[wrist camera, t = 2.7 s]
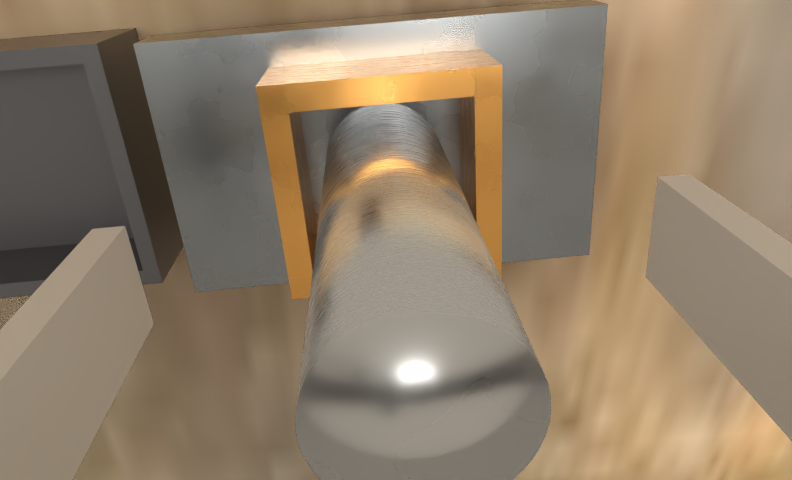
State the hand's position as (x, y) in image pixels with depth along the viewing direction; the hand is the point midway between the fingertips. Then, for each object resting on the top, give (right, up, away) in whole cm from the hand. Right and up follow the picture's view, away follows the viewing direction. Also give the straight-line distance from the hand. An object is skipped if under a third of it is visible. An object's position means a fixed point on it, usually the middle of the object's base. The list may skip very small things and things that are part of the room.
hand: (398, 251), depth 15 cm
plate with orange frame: (-1, +5, +11) cm, 12 cm away
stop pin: (0, +3, +6) cm, 7 cm away
